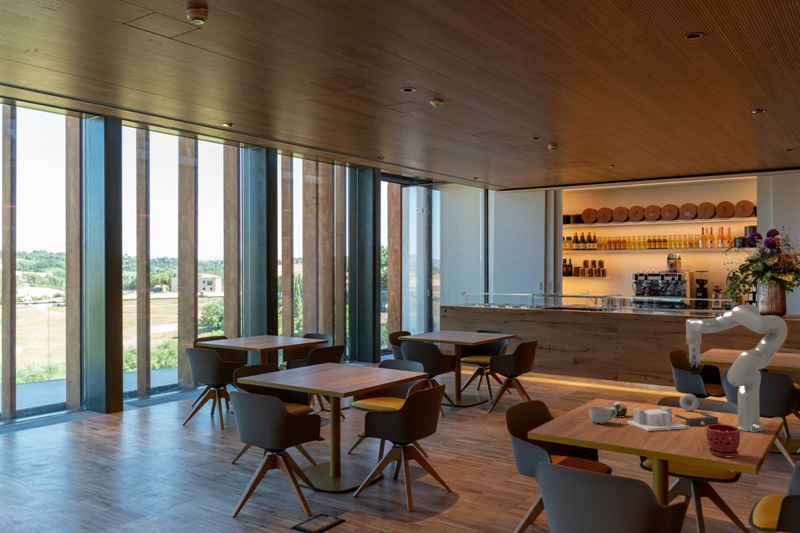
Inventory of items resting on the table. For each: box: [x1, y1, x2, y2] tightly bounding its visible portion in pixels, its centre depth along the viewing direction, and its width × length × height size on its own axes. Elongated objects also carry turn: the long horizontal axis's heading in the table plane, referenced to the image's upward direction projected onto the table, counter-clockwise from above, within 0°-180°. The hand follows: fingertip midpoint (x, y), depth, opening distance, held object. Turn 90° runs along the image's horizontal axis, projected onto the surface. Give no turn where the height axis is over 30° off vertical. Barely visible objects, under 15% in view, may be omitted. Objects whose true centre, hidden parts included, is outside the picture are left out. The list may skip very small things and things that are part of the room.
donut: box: [679, 393, 700, 412], centre depth 369 cm, size 10×4×10 cm, turn 60°
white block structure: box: [626, 406, 688, 432], centre depth 334 cm, size 18×22×8 cm
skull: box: [609, 401, 628, 419], centre depth 360 cm, size 12×10×10 cm
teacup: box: [588, 406, 617, 425], centre depth 343 cm, size 14×11×8 cm
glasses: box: [674, 412, 719, 427], centre depth 342 cm, size 12×17×4 cm
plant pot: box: [705, 423, 741, 457], centre depth 282 cm, size 13×13×12 cm
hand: (694, 373), depth 353 cm, fingers open, 9 cm apart
